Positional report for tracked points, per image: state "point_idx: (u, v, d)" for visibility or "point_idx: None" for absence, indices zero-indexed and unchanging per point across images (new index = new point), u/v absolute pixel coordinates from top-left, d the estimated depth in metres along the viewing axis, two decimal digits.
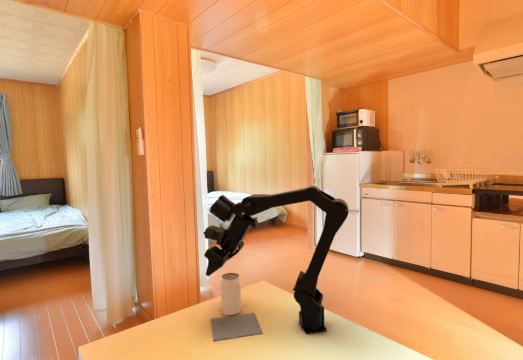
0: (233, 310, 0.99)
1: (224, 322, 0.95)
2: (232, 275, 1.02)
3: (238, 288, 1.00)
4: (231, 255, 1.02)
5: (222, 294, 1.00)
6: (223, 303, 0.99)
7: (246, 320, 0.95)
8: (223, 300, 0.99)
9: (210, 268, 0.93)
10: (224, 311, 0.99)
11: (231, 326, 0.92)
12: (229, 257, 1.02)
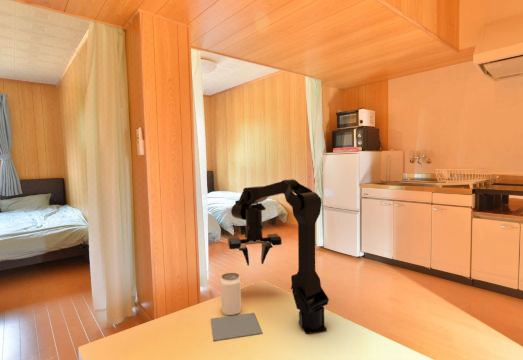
0: (233, 310, 0.99)
1: (224, 322, 0.95)
2: (232, 275, 1.02)
3: (238, 288, 1.00)
4: (263, 251, 1.10)
5: (222, 294, 1.00)
6: (223, 303, 0.99)
7: (246, 320, 0.95)
8: (223, 300, 0.99)
9: (244, 256, 1.10)
10: (224, 311, 0.99)
11: (231, 326, 0.92)
12: (263, 253, 1.10)
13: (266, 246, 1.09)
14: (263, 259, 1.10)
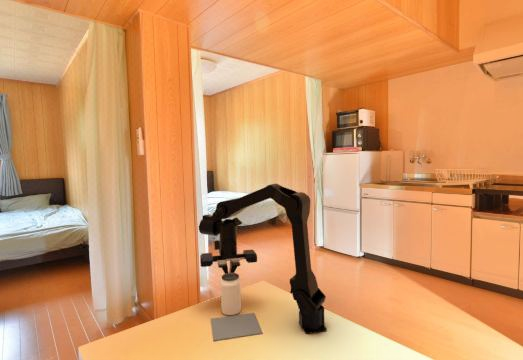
0: (233, 311, 0.99)
1: (224, 322, 0.95)
2: (232, 275, 1.01)
3: (238, 289, 0.99)
4: (230, 269, 1.03)
5: (222, 295, 0.99)
6: (223, 303, 0.99)
7: (246, 320, 0.95)
8: (223, 300, 0.99)
9: None
10: (224, 311, 0.99)
11: (231, 326, 0.92)
12: (230, 271, 1.03)
13: (233, 264, 1.02)
14: None
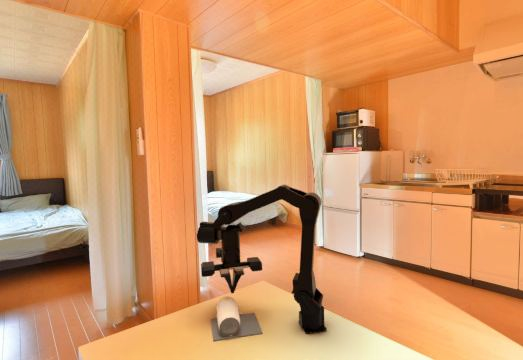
0: None
1: None
2: (230, 322, 0.87)
3: None
4: (234, 278, 0.96)
5: None
6: None
7: (246, 320, 0.95)
8: None
9: None
10: None
11: None
12: (233, 281, 0.96)
13: (237, 273, 0.95)
14: (234, 288, 0.96)
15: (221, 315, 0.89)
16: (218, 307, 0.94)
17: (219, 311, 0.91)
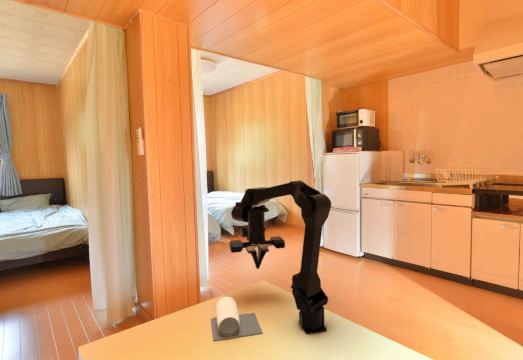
0: None
1: None
2: (229, 322, 0.87)
3: None
4: (259, 255, 1.05)
5: None
6: None
7: (246, 320, 0.95)
8: None
9: (253, 259, 1.07)
10: None
11: None
12: (259, 257, 1.05)
13: (262, 250, 1.05)
14: (259, 263, 1.06)
15: (219, 315, 0.89)
16: (217, 308, 0.94)
17: (218, 312, 0.91)
